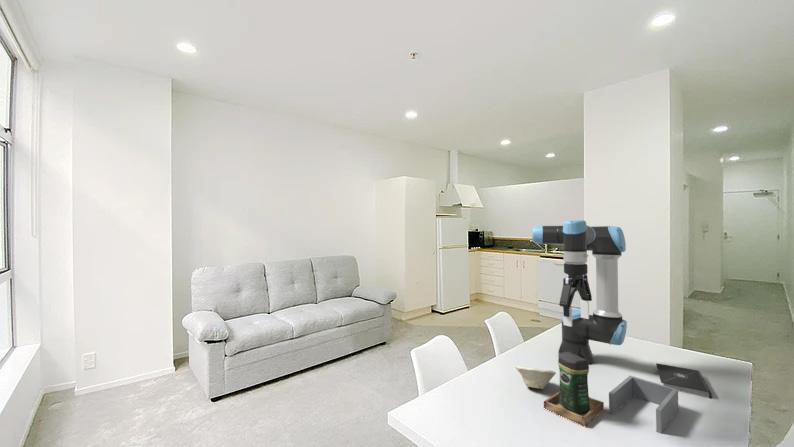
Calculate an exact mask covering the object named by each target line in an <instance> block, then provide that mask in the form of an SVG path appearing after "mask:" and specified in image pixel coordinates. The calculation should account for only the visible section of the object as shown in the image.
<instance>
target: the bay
mask: <svg viewBox="0 0 794 447" xmlns="http://www.w3.org/2000/svg"><path fill="white" fill-rule="evenodd" d="M633 397H635V398H637V399H640V400H641V399H642V400H643V401H647V402H650V403H653V404H656V405H658V406H657V407H656V408H655V422H656V423H655V428H656V430H655V431H656V432H657V433H660V434H662V432H663V431H664V430H665V429H666V427H667V426H668V425H669V424H670V422H671V421H672V419H673V418H674V416H675V415H676V413H678V411H679V391H678V389H674V388H671V387H668V386H664V385H663V384H662V383H661V384H660V383H657V382H654V381H650V380H646V379H643V378H640V377H636V376H634V375H628V376H627V377H626V378H625V379H623V381H621V382H620V383H619V384H617V386H616V387H614V388H613V389H612V390H610V391H609V392H608V410H609V411H608V412H609V414H610V415H612V416H613V415H615V414H616V413H617V412H618V411H619V410H620V409H621V408H622V407H623V406H624V405H625V404H626V403H628V401H630V400H631V399H632V398H633Z"/></svg>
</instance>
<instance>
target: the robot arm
mask: <svg viewBox="0 0 794 447" xmlns="http://www.w3.org/2000/svg"><path fill="white" fill-rule="evenodd" d="M531 239H532V242H533V243H534V244H536V245H537V244H539V245H555V246H556V245H558V246H559V245H560V246H562V247H563V262H564V263H563V273H564V274H567V276H568V277H564V278H563V280H562V282H563V283H562V289H561V293H560V298H559V304H558V305H559V306H560V307H562V314H561V342H560V345H559V348H558V357H559V355H560V353H562V352H571V353H572V354H575V355H577V356H579V357H581V358H584V359H586V360H587V361H588V365H589V364H593V362H594V354H593V352H592V349H591V346H590V341H593V342H599V343H602V344H603V343H604V344H608V345H615V346H621V345H623V343H624V341H625V339H626V334H627V328H628V322H627V320H625V319H623V314H622V313H621V312H619V269H618V266H619V262H618V260H619V258H621V257H622V256H623V255H622V253H624V252H626V250H627V248H626V246H627V244H626V238H625V234H624V231H623V230H622V228H621V227H619V226H613V225H612V226H610V225H607V226H605V225H603V226H601V225H600V226H589V225H587V222H586V220H583V219H582V220H581V219H580V220H576V219H575V220H565V221H563V224H562V225H536V226H534V227H533V228H532V231H531ZM589 251H591V255H592V256H593V257H594V258H595V285H596V286H595V287H596V289H595V292H596V301H595V302H596V306H595V307H596V308H595V310H593V311H592V314H590V302H592V301H593V298H592V297H593V296H592V292H591V289H590V285H589V279H588V273H589V272H588V264H587V263H588V258H589V254H588V252H589ZM576 292H578V295H579V297H580V301H579V302H580V304H579V306H580V307H579V308H580V309H573V307H571V306H572V303H573V299H574V297H575V293H576Z"/></svg>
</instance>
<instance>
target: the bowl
mask: <svg viewBox="0 0 794 447" xmlns="http://www.w3.org/2000/svg"><path fill="white" fill-rule="evenodd" d="M515 369H516V370H517V372H518V373H519V374H520V376H521V377H522V381H523V383H524V384H525V386H526V387H527V388H533V389H542V390H544V389H545V388H546V386H547V385H548V383H549V382H550V381H551V380H552V378H553V377H555V375H556V374H557V373H556V371H554V370H550V369H549V370H548V369H547V370H543V369H539V368H532V367H528V366H526V367H524V366H519V365H518V366H516V367H515Z"/></svg>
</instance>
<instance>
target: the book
mask: <svg viewBox="0 0 794 447" xmlns="http://www.w3.org/2000/svg"><path fill="white" fill-rule="evenodd" d="M656 368H657V372H658V377H659V379H660V383H661V384H662V385H664V386H668V387H671V388H674V389H678V392H682V393H687V394H692V395H696V396H701V397H707V398H709V399H712V397H713V394H712V392H711V390H710V389H709V386H708V384H707V383H706V381H705V379H704V377H703V375H702V373H701V372H700V370H696V369H690V368H685V367H679V366H674V365H668V364H662V363H656Z"/></svg>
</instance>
